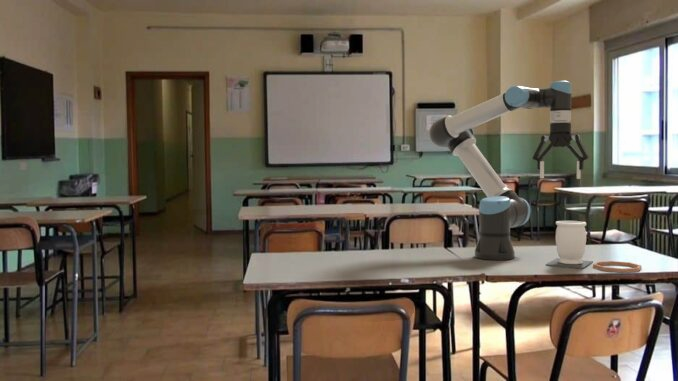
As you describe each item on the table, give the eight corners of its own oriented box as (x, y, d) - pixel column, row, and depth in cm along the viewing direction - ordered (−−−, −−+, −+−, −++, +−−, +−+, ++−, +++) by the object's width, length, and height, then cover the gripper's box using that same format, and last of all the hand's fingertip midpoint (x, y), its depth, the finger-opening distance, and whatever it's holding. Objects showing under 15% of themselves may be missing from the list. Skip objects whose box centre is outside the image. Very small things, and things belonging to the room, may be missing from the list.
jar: (549, 261, 228) (549, 220, 227) (572, 259, 231) (573, 219, 230) (568, 266, 218) (568, 223, 217) (592, 264, 221) (592, 222, 220)
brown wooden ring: (590, 269, 214) (590, 266, 214) (599, 263, 226) (599, 260, 226) (636, 273, 206) (636, 270, 206) (643, 266, 218) (643, 263, 218)
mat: (545, 265, 222) (545, 264, 222) (556, 259, 235) (556, 258, 235) (583, 269, 215) (583, 267, 215) (592, 262, 227) (592, 261, 227)
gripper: (524, 123, 238) (524, 178, 240) (593, 120, 224) (592, 179, 226) (530, 124, 245) (530, 177, 246) (597, 121, 231) (596, 178, 232)
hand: (559, 178), depth 236 cm, fingers open, 13 cm apart
